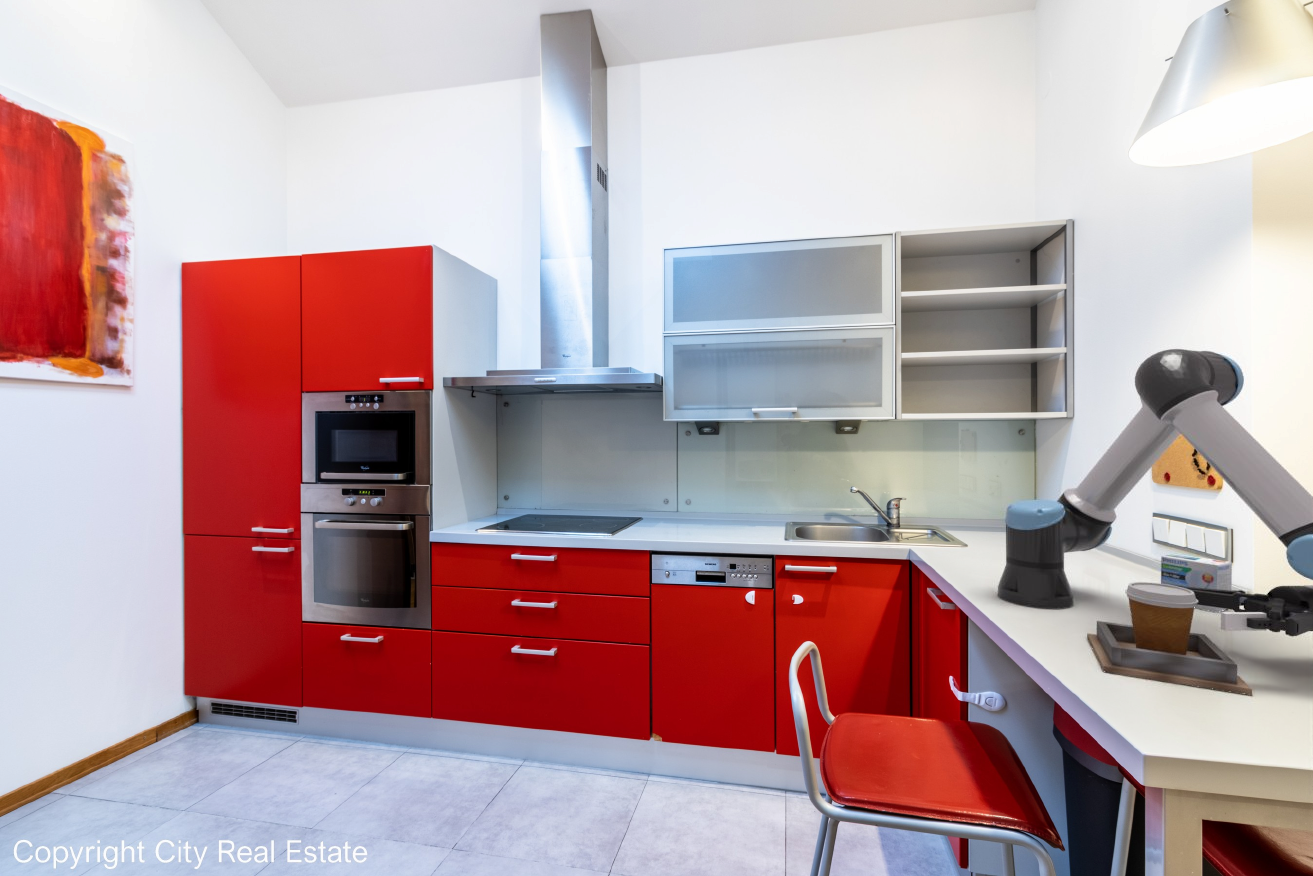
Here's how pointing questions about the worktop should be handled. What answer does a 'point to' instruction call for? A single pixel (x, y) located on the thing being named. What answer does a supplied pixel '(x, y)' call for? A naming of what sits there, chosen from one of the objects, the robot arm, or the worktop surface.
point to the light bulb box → (1196, 574)
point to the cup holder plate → (1166, 660)
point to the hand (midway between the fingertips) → (1184, 608)
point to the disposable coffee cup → (1161, 616)
